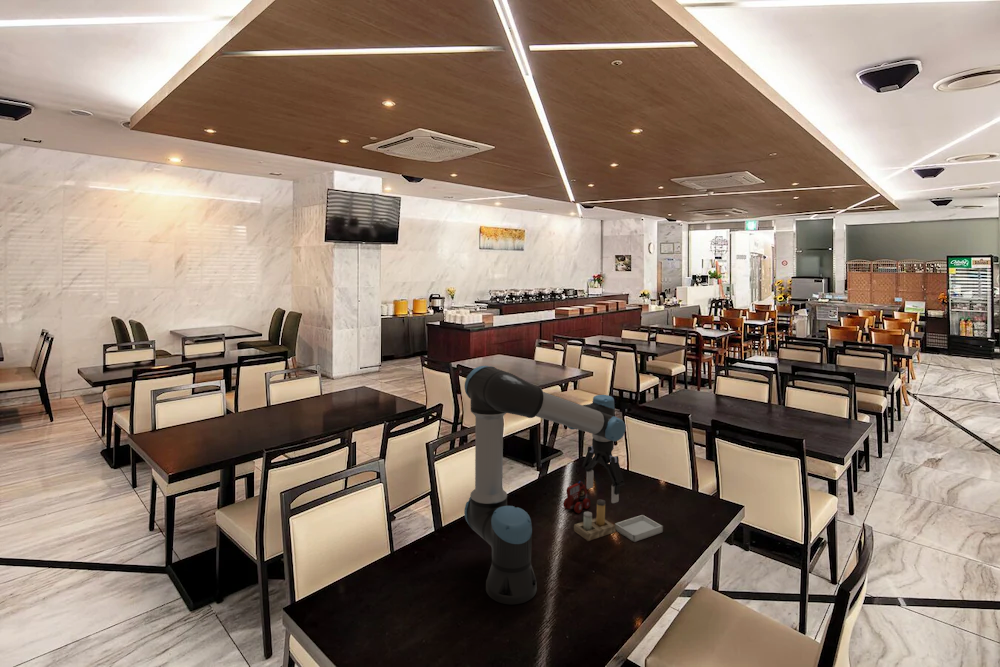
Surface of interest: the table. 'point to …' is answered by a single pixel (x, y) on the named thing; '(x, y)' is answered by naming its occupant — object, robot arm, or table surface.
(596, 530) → the socket block
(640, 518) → the tray
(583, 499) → the toy fire truck
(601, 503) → the cylinder
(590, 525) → the fuse
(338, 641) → the table surface
